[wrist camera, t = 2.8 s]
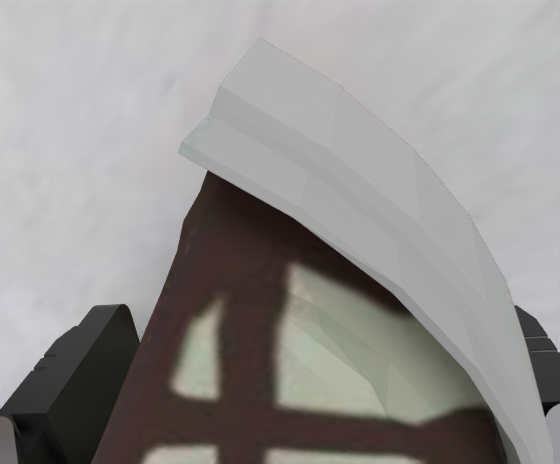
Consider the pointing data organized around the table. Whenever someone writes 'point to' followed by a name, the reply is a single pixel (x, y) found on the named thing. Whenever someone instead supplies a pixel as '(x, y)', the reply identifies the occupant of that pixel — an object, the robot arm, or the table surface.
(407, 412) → the food container
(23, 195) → the table surface
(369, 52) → the table surface
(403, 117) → the table surface
